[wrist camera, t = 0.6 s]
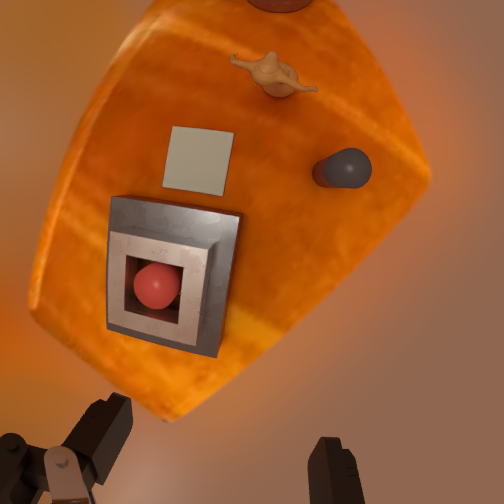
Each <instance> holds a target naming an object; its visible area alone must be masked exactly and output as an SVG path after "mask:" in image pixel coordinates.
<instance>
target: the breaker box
mask: <svg viewBox="0 0 504 504" xmlns="http://www.w3.org/2000/svg"><path fill="white" fill-rule="evenodd" d="M242 218H243V213H239V212H233V211H227V210H222V209H216V208H210V207H204V206H198V205H192V204H186V203H180V202H174V201H167V200H161V199H154V198H148V197H141V196H134V195H119V196H111V205H110V215H109V226H108V241H107V261H106V324H107V329H108V330H111V331H115V332H118V333H121V334H124V335H128V336H131V337H134V338H138V339H141V340H145V341H148V342H152V343H155V344H159V345H163V346H166V347H170V348H174V349H178V350H182V351H186V352H191V353H195V354H199V355H204V356H208V357H213V358H217V355H218V352H219V349H220V346H221V342H222V337H223V331H224V325H225V318H226V312H227V306H228V300H229V294H230V288H231V282H232V276H233V270H234V264H235V258H236V252H237V247H238V241H239V235H240V229H241V224H242ZM151 260H152V261H157V262H162V263H166V264H171V265H176V266H181V267H184V271H183V279H182V289H181V296H179V295H177V296H176V297H175V298H174V300H173V301H172V302H171V303H170V304H169V305H168V306H167V307H165V308H163V309H152V308H149V307H147V306H145V305H144V304H143V303H142V302H140V300H139V299H138V298H137V296H136V294H135V291H134V279H135V277H136V275H137V273H138V272H139V271H140V270H142V269H143V268H145V267H146V266H148V265H149V264H151Z"/></svg>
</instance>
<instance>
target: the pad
mask: <svg viewBox="0 0 504 504" xmlns="http://www.w3.org/2000/svg"><path fill="white" fill-rule="evenodd" d="M233 138H234V133H230V132H223V131H215V130H206V129H197V128H187V127H176V126H173V128H172V134H171V139H170V144H169V149H168V155H167V161H166V167H165V173H164V179H163V186H162V187H168V188H175V189H181V190H188V191H195V192H201V193H207V194H213V195H219V196H223V194H224V188H225V182H226V177H227V171H228V165H229V160H230V154H231V149H232V144H233Z"/></svg>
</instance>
